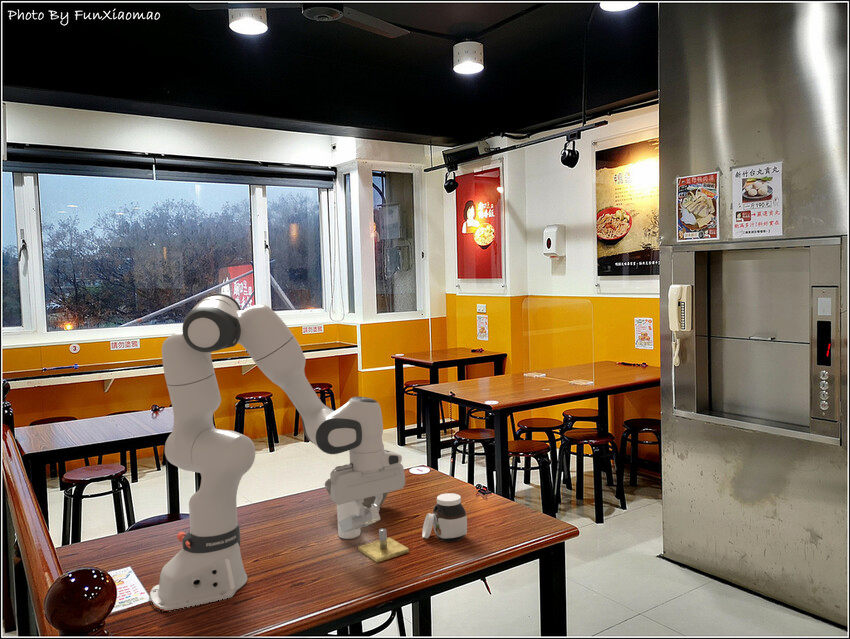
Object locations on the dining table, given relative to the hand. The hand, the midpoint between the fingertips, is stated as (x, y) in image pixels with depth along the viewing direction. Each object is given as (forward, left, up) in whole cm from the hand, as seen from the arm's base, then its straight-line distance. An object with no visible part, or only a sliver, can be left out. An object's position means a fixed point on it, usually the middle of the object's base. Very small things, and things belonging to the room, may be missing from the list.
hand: (369, 512), depth 162 cm
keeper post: (+7, +7, -14) cm, 17 cm away
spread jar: (+25, +4, -15) cm, 29 cm away
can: (+5, +23, -15) cm, 27 cm away
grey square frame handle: (0, +3, -4) cm, 5 cm away
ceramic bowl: (+17, +38, -15) cm, 44 cm away
